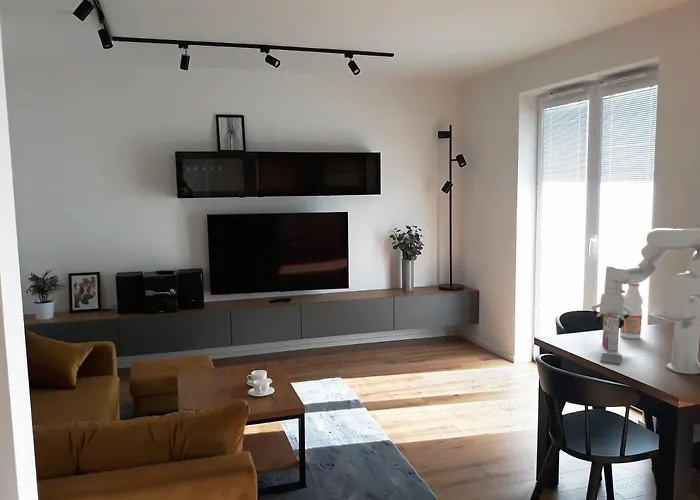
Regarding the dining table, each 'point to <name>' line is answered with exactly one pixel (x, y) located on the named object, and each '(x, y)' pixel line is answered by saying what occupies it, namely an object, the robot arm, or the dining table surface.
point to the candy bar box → (610, 332)
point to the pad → (611, 358)
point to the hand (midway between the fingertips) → (609, 326)
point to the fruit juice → (632, 313)
